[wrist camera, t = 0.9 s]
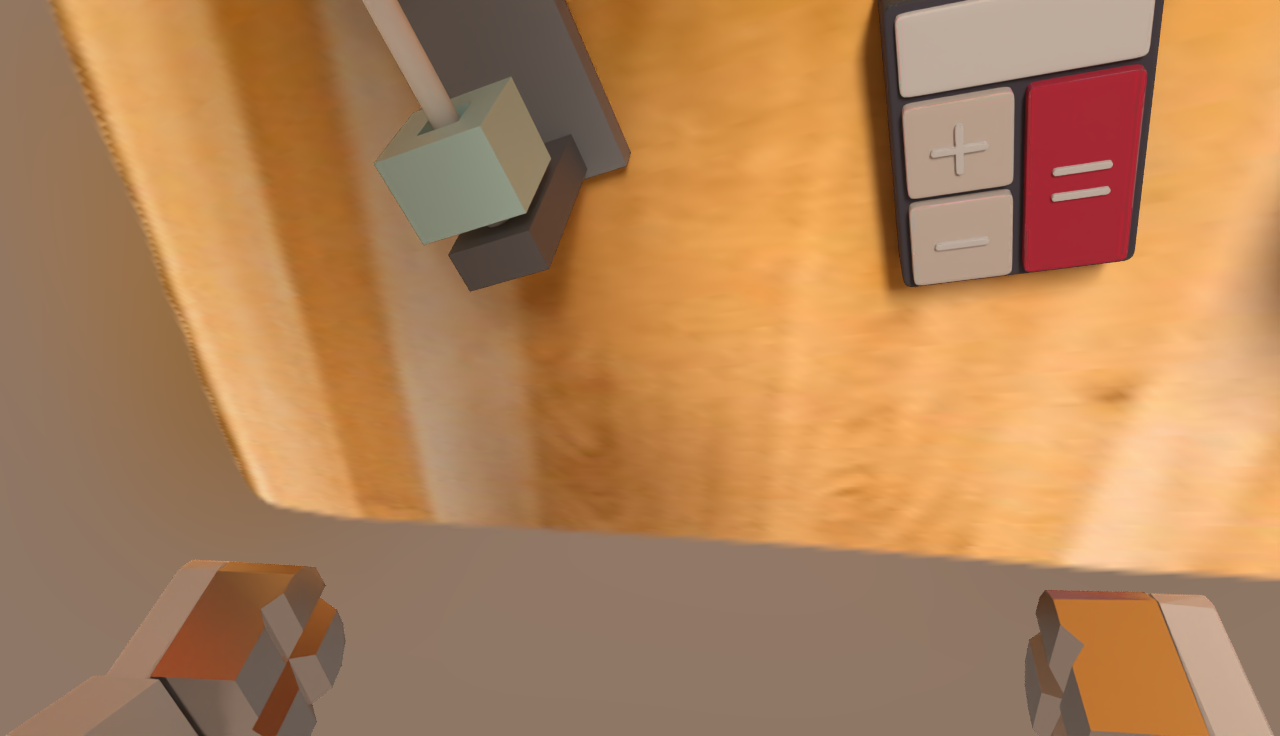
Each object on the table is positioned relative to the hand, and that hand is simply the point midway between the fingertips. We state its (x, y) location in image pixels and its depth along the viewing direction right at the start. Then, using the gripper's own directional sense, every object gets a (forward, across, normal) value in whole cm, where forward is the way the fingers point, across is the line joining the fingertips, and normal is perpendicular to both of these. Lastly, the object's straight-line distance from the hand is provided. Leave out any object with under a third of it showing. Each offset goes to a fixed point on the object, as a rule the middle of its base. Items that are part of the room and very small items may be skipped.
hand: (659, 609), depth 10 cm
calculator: (+38, -12, +10) cm, 41 cm away
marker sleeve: (+31, +12, +7) cm, 34 cm away
